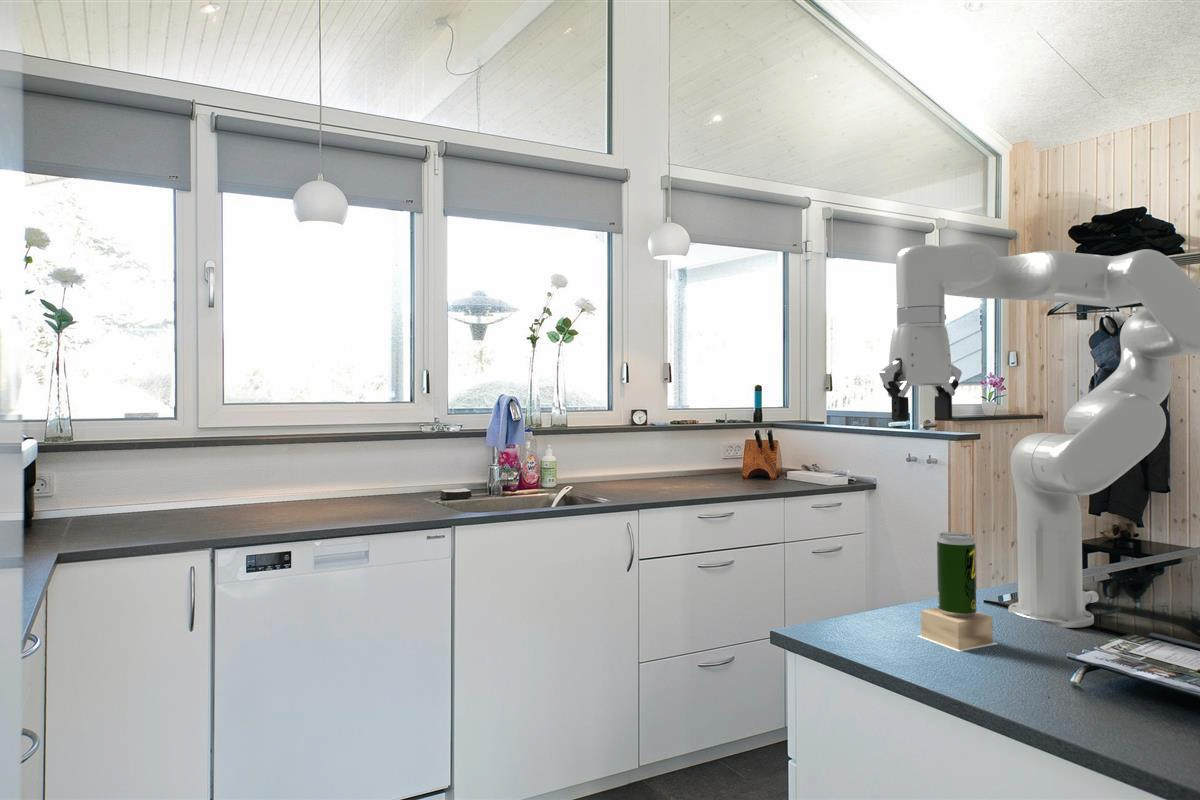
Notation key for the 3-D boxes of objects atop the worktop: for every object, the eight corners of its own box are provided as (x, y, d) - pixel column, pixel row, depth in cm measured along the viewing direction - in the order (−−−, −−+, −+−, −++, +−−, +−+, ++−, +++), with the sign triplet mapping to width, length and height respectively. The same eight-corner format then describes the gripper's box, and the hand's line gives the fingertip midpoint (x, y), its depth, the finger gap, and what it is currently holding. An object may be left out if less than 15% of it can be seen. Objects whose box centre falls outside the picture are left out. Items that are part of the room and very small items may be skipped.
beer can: (940, 617, 115) (938, 537, 115) (936, 607, 120) (934, 531, 120) (979, 619, 114) (978, 539, 114) (973, 609, 119) (972, 532, 119)
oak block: (954, 630, 122) (954, 605, 122) (992, 643, 115) (992, 616, 115) (921, 636, 119) (921, 610, 119) (958, 649, 112) (958, 622, 112)
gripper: (941, 322, 137) (942, 418, 137) (865, 320, 130) (866, 421, 130) (976, 318, 130) (977, 419, 130) (897, 316, 123) (899, 422, 123)
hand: (922, 419), depth 130 cm, fingers open, 9 cm apart
